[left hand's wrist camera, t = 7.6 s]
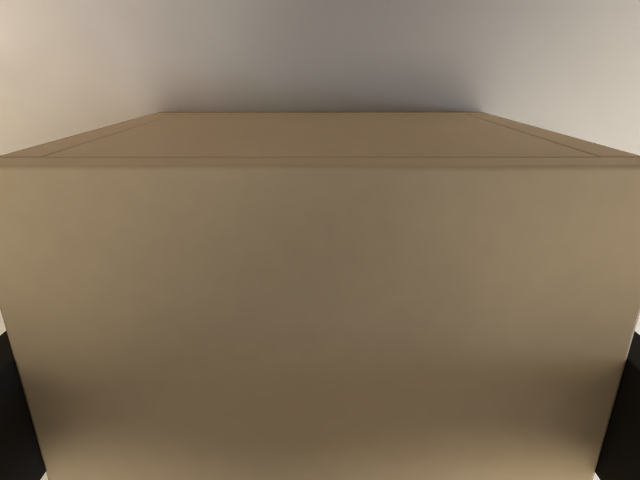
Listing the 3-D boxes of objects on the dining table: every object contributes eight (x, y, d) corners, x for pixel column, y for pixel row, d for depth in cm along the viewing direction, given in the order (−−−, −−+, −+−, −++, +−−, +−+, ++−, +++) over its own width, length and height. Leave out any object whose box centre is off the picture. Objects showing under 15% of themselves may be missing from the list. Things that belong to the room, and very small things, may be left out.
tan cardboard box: (438, 488, 22) (514, 763, 13) (203, 488, 22) (126, 761, 13) (484, 112, 16) (683, 166, 7) (157, 112, 16) (-43, 166, 7)
